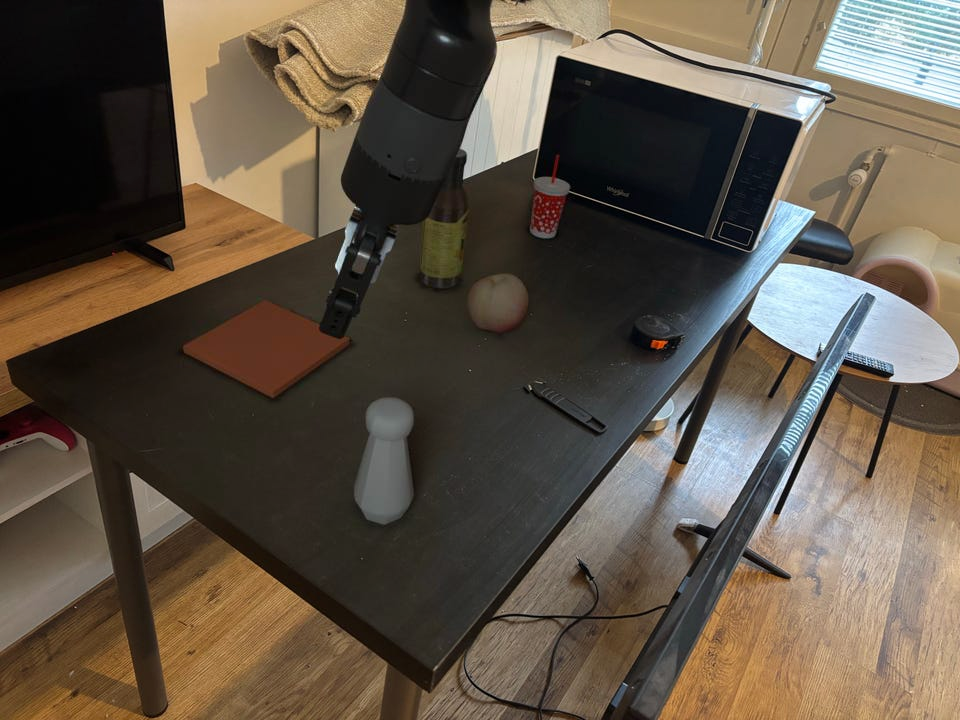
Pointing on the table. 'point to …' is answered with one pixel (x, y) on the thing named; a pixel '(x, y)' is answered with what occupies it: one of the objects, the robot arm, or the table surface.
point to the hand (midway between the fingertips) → (341, 304)
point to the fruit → (497, 303)
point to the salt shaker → (386, 462)
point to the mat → (266, 348)
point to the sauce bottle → (446, 231)
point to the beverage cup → (548, 204)
